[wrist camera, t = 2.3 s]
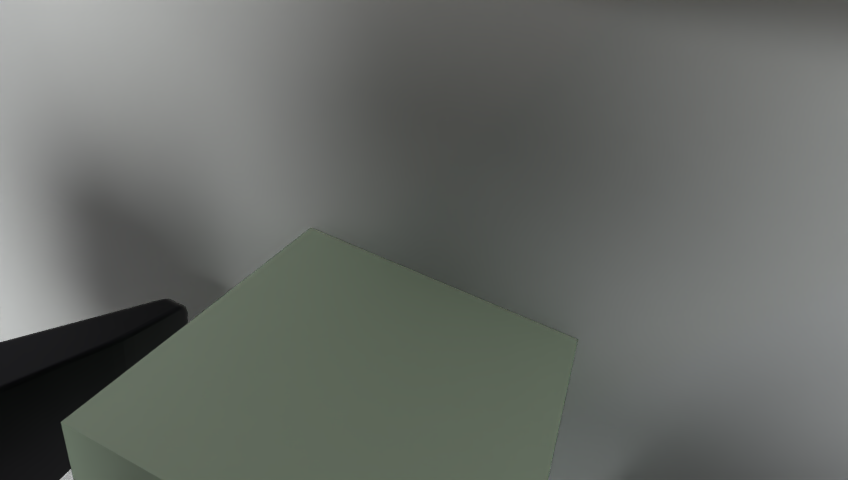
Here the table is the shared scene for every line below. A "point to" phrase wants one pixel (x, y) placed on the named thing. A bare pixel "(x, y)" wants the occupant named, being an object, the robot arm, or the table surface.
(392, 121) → the table surface
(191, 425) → the sage cube
